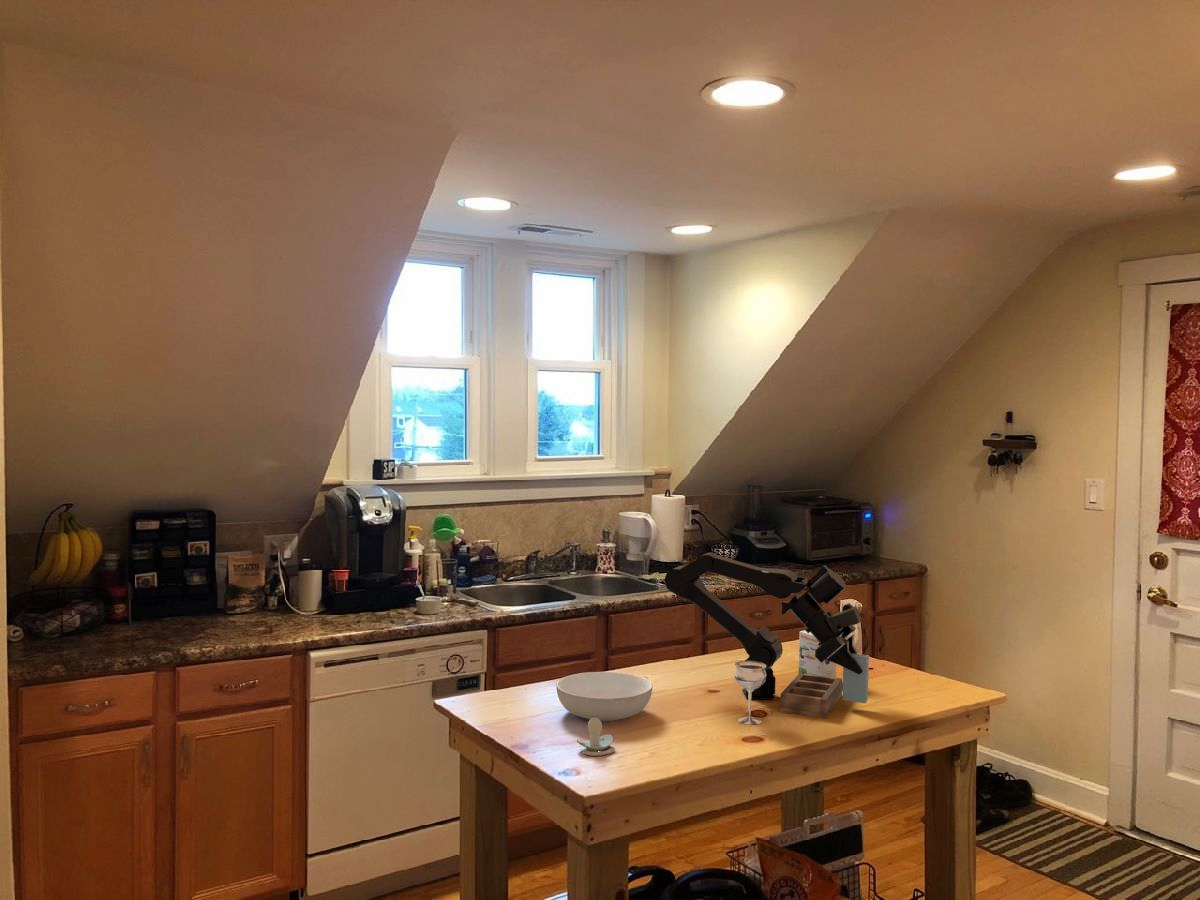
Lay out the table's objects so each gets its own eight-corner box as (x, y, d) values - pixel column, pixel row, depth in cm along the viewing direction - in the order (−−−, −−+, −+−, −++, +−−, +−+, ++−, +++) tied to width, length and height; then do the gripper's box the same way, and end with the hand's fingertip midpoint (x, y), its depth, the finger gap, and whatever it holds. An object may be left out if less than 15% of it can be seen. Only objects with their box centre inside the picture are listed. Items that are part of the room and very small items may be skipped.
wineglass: (754, 728, 193) (756, 671, 193) (727, 721, 197) (728, 665, 197) (771, 720, 198) (772, 664, 198) (744, 713, 203) (745, 659, 202)
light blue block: (842, 700, 206) (843, 655, 206) (845, 696, 209) (846, 652, 208) (865, 703, 204) (866, 658, 204) (867, 699, 207) (868, 655, 206)
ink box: (797, 676, 232) (798, 630, 232) (811, 674, 235) (812, 628, 234) (822, 685, 225) (823, 637, 224) (836, 682, 228) (837, 634, 227)
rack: (780, 711, 204) (780, 693, 204) (799, 689, 221) (799, 672, 221) (825, 718, 200) (826, 700, 200) (841, 695, 217) (842, 678, 217)
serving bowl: (661, 705, 208) (661, 674, 208) (639, 735, 188) (640, 702, 187) (572, 696, 213) (572, 666, 213) (542, 725, 193) (542, 692, 193)
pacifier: (621, 754, 178) (605, 743, 183) (622, 722, 177) (606, 712, 183) (587, 760, 174) (572, 749, 179) (588, 728, 174) (573, 717, 179)
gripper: (831, 601, 199) (883, 658, 195) (846, 587, 216) (895, 639, 212) (794, 633, 202) (844, 690, 198) (812, 617, 219) (859, 669, 215)
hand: (862, 671), depth 206 cm, fingers closed on light blue block, 3 cm apart
